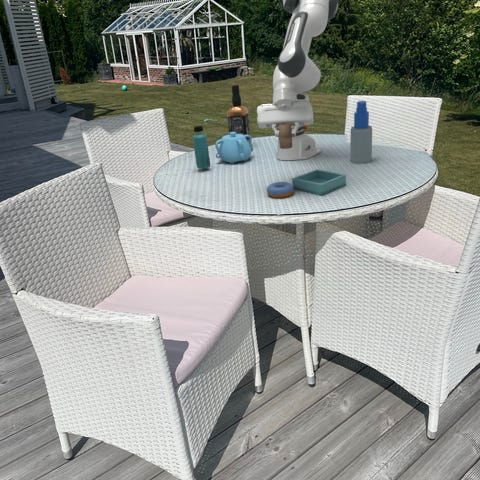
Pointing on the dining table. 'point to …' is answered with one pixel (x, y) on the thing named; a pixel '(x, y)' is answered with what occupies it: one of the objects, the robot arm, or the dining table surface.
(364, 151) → the spray bottle
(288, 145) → the brown wooden cylinder
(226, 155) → the decorative pot
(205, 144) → the beverage bottle
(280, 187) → the doughnut
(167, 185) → the dining table surface
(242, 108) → the whiskey bottle
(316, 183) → the box
